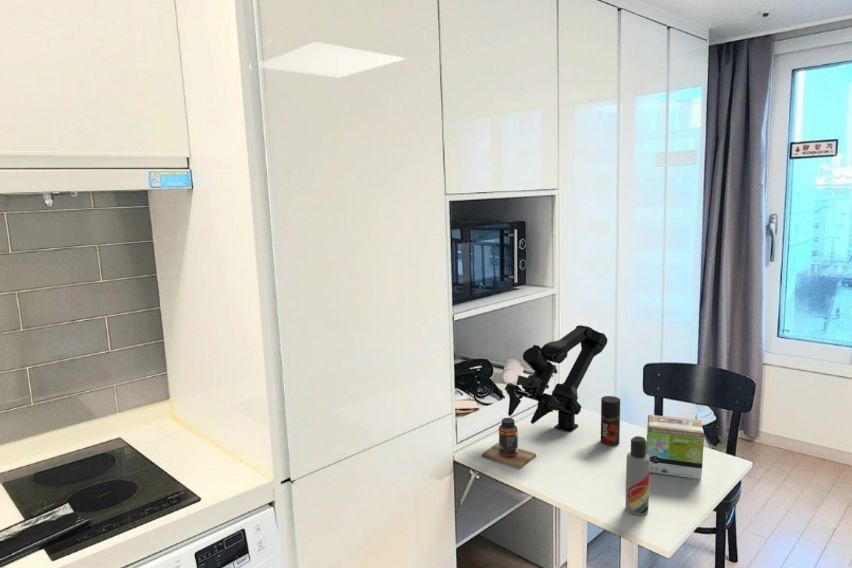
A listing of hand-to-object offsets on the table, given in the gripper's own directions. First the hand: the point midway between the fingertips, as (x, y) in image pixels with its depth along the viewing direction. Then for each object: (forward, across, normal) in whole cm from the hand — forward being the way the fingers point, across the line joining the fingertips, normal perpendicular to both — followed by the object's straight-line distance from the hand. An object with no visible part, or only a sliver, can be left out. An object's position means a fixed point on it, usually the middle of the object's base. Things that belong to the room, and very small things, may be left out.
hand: (520, 419), depth 186 cm
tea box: (-7, +40, +23) cm, 47 cm away
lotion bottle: (+12, +44, +3) cm, 45 cm away
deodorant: (-10, +17, +26) cm, 32 cm away
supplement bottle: (+11, 0, +3) cm, 12 cm away
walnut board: (+12, 0, +3) cm, 12 cm away
